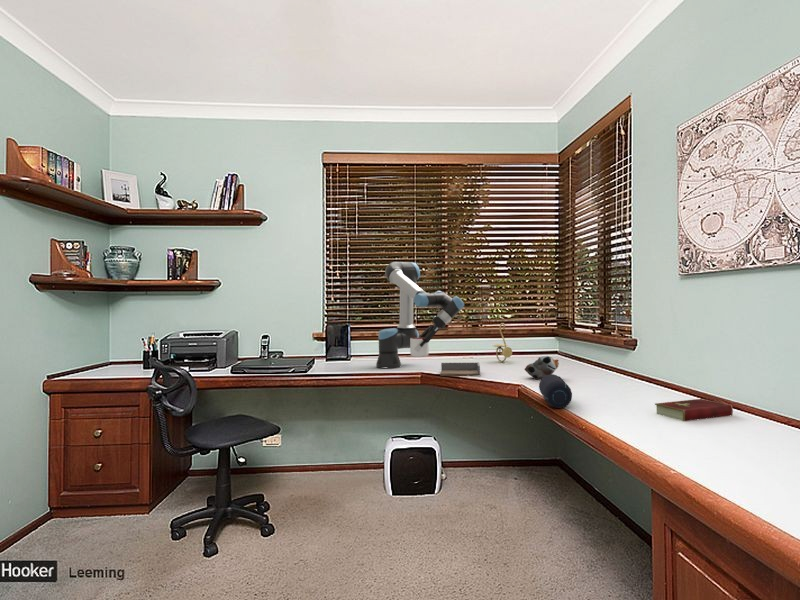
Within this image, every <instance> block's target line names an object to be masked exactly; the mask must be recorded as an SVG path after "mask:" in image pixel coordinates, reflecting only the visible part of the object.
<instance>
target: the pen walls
mask: <svg viewBox="0 0 800 600" xmlns="http://www.w3.org/2000/svg"><path fill="white" fill-rule="evenodd" d="M440 363H441V365H440V366H441V367H440V368H441V370H478V374H480V375H481V365H480V362H440Z"/></svg>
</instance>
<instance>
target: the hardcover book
mask: <svg viewBox="0 0 800 600" xmlns="http://www.w3.org/2000/svg"><path fill="white" fill-rule="evenodd" d="M654 406H656V407H655V408H656V415H659V414H660V416H663V415H664V417H668V418H671V419H675V420H679V421H682V422H690V421H697V419H699V420H705V419H706V418H707V419H714V418H722V417H730V415H731V416H733V415H734V414H733V412H734V409H733V405H732V404H728V403H723V402H719V401H715V400H709V399H704V398H697V399H687V400H678V401H677V400H676V401H675V400H674V401H667V402H658V403H654Z"/></svg>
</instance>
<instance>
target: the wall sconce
mask: <svg viewBox="0 0 800 600" xmlns="http://www.w3.org/2000/svg"><path fill="white" fill-rule="evenodd" d="M502 325H503V326H502ZM505 329H506V324H505V323H504V322H501V323H500V324H499V333H500V336H501V338H502V341H503V344H492V346H493V347H496V349H495V353H496V355H495V356H496V359H497V360H498V361H499V362H500V363H504V362H505V361H506V359H507V358H510V357H511V356H512V355H513V350H512V348H511V347H509V346H508V344H506V340H505V338H504V335H503V332H502V330H505ZM503 347H504V348H503ZM498 352H499V353H498ZM499 355H501V356H503V357H504V359H503V360H501V359H500V358H499Z"/></svg>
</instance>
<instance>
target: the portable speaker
mask: <svg viewBox="0 0 800 600" xmlns="http://www.w3.org/2000/svg"><path fill="white" fill-rule="evenodd" d="M538 389H539V392H540V394H541V395H542V397H543V399H544V400H545V401H546V403H547V404H548V405H549V406H550V407H552V408H555V409H562V408H565V407H567V406H569V404H570V403H571V402H572V399H573V392H572V389H571V387H570V386H569V385H568V384H567V383H566V381H564V379H563V378H561V376H558V375H557V374H555V373H553V374H549V375H546V376H544V377H543V378H542V379H541V380H540V381H539V383H538Z"/></svg>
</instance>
